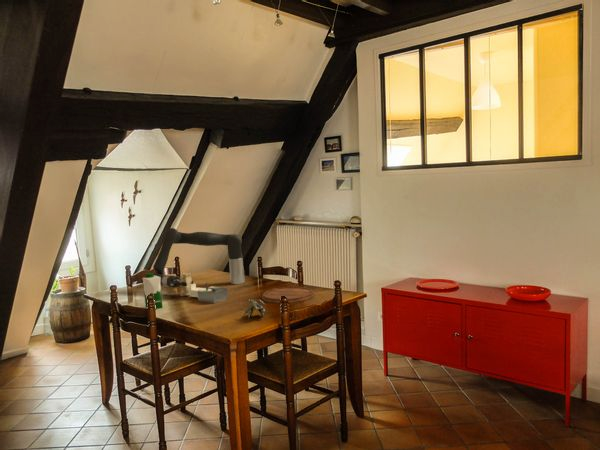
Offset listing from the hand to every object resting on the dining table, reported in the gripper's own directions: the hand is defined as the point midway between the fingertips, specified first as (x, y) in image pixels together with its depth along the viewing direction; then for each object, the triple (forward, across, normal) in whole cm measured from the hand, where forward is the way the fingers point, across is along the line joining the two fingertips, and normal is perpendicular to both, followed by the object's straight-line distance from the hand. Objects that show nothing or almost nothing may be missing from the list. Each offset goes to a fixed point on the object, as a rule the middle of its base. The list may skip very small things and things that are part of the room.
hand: (189, 283), depth 305 cm
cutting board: (+58, +24, +9) cm, 63 cm away
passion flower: (+66, -18, +8) cm, 69 cm away
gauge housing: (+19, 0, +8) cm, 21 cm away
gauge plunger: (+9, 0, +7) cm, 11 cm away
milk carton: (-1, -28, +8) cm, 29 cm away
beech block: (-3, 0, +7) cm, 7 cm away
